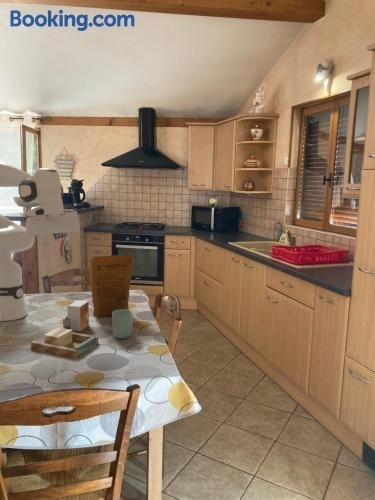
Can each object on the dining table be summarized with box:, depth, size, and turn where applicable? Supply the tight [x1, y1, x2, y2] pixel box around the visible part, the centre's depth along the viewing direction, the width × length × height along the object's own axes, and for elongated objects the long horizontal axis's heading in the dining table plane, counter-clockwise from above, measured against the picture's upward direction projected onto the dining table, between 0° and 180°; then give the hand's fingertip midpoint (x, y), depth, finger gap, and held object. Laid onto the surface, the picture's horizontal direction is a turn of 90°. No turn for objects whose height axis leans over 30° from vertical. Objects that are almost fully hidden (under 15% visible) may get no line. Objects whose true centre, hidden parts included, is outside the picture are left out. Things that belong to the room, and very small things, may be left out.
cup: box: [111, 309, 134, 340], centre depth 153 cm, size 8×8×10 cm
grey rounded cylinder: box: [62, 313, 74, 332], centre depth 154 cm, size 3×3×8 cm
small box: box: [67, 300, 90, 333], centre depth 161 cm, size 8×6×10 cm
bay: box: [30, 331, 99, 359], centre depth 143 cm, size 19×14×3 cm
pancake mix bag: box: [88, 254, 134, 318], centre depth 175 cm, size 7×19×28 cm, turn 105°
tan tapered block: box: [43, 327, 73, 347], centre depth 144 cm, size 6×8×5 cm
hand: (55, 245), depth 154 cm, fingers open, 8 cm apart
